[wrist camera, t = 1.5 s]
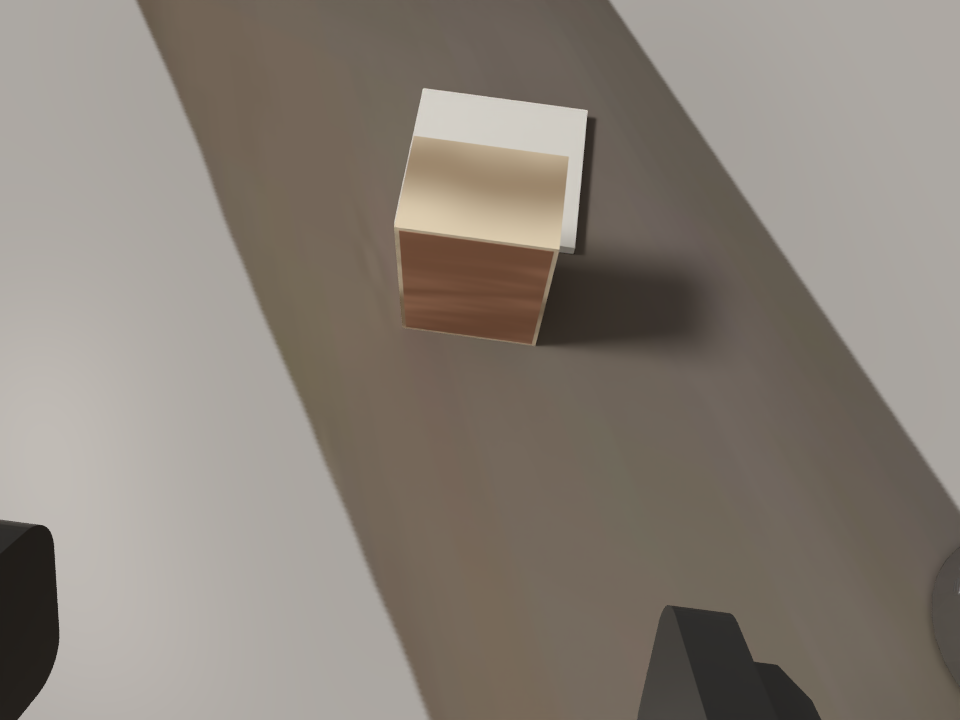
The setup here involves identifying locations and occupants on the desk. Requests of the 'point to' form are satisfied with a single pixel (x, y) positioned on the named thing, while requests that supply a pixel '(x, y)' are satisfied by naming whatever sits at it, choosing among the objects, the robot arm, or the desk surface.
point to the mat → (511, 135)
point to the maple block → (478, 238)
